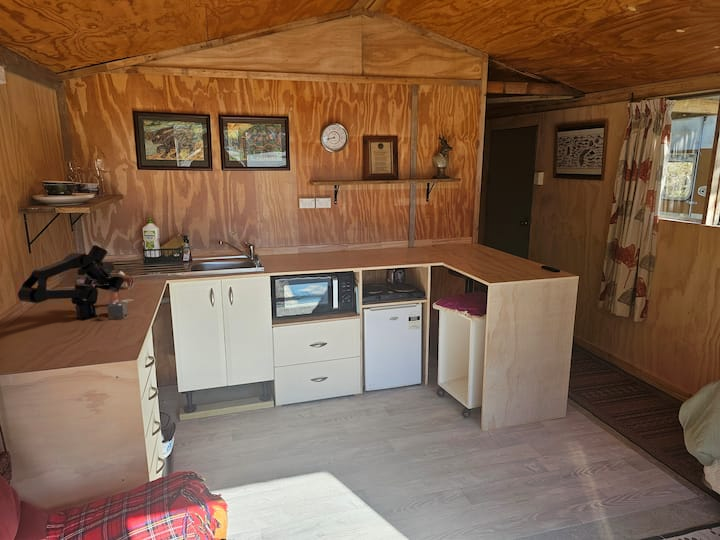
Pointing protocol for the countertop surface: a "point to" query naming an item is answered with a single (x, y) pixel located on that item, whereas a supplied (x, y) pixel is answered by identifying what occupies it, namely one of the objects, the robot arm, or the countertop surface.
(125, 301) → the game board
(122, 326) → the countertop surface
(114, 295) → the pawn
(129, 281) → the bull figurine
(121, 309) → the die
